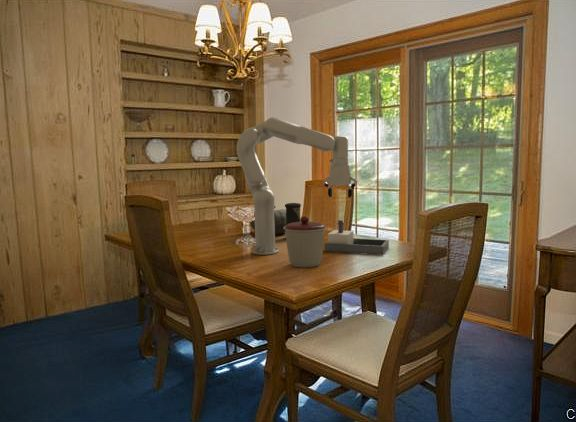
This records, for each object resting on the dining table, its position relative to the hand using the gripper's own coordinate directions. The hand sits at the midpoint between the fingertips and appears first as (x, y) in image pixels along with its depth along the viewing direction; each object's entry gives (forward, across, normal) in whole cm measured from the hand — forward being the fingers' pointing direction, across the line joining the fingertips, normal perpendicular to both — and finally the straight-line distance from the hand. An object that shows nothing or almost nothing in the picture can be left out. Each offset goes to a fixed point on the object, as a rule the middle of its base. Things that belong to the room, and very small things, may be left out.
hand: (340, 197), depth 218 cm
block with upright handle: (+24, 0, 0) cm, 24 cm away
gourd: (+26, -50, +30) cm, 64 cm away
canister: (+26, -5, -36) cm, 45 cm away
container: (+26, -32, +20) cm, 46 cm away
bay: (+26, +9, 0) cm, 27 cm away
